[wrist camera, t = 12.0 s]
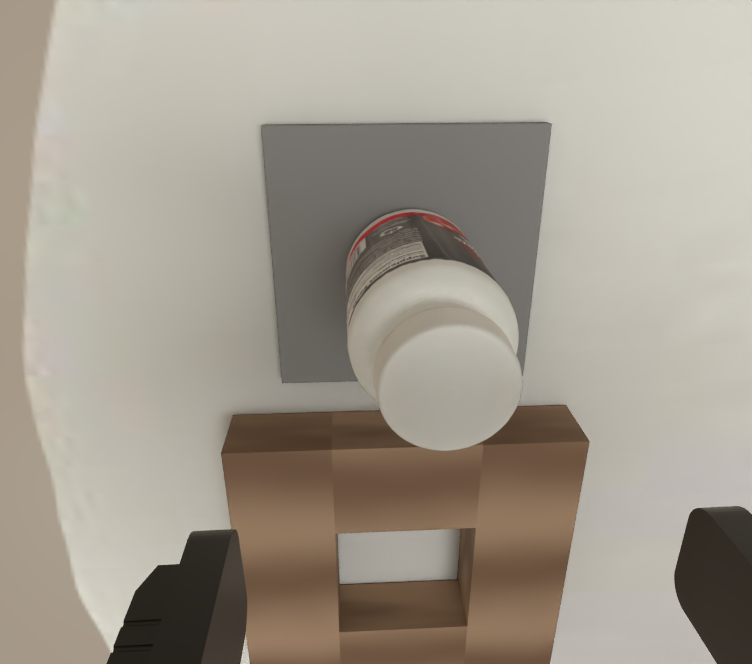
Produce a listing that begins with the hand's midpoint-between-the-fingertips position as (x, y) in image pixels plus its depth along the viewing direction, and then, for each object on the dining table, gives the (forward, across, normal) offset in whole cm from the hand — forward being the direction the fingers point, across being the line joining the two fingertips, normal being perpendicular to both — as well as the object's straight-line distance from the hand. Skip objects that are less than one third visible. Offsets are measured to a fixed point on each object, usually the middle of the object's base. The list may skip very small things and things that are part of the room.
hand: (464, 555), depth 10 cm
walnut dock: (+16, 0, +15) cm, 22 cm away
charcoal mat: (+16, 0, 0) cm, 16 cm away
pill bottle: (+16, -1, 0) cm, 16 cm away
